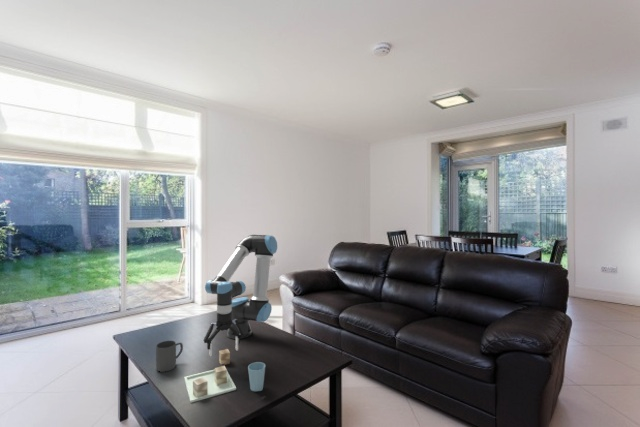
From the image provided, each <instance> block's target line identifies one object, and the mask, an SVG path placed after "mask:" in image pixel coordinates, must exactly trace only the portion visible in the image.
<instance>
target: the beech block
mask: <svg viewBox="0 0 640 427" xmlns="http://www.w3.org/2000/svg"><path fill="white" fill-rule="evenodd" d="M214 369H215V383H216V385H220V384H224V383H227V372H228V370H227V368H226V366H225V365H221V366H217V367H214Z"/></svg>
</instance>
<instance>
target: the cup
mask: <svg viewBox="0 0 640 427" xmlns="http://www.w3.org/2000/svg"><path fill="white" fill-rule="evenodd" d="M247 371H248V379H249V388H250V391H252V392H261V391H263V390H264V389H263V388H264V384H265V382H264V381H265V374H266V363H264V362H261V361H256V362H252V363H250V364H248V366H247Z"/></svg>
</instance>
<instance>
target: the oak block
mask: <svg viewBox="0 0 640 427" xmlns="http://www.w3.org/2000/svg"><path fill="white" fill-rule="evenodd" d="M218 362H219V364H220V365H223V366H225V365H230V364H231V352H230V350H229V349H228V348H225V349H222V350H219V351H218Z"/></svg>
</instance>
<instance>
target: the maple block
mask: <svg viewBox="0 0 640 427" xmlns="http://www.w3.org/2000/svg"><path fill="white" fill-rule="evenodd" d="M193 395H194V396H195V397H196V398H197V397H201V396H204V395H208V381H207V380H206V379H205V378H204V377H202V378H199V379H197V380H194V381H193Z"/></svg>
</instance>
